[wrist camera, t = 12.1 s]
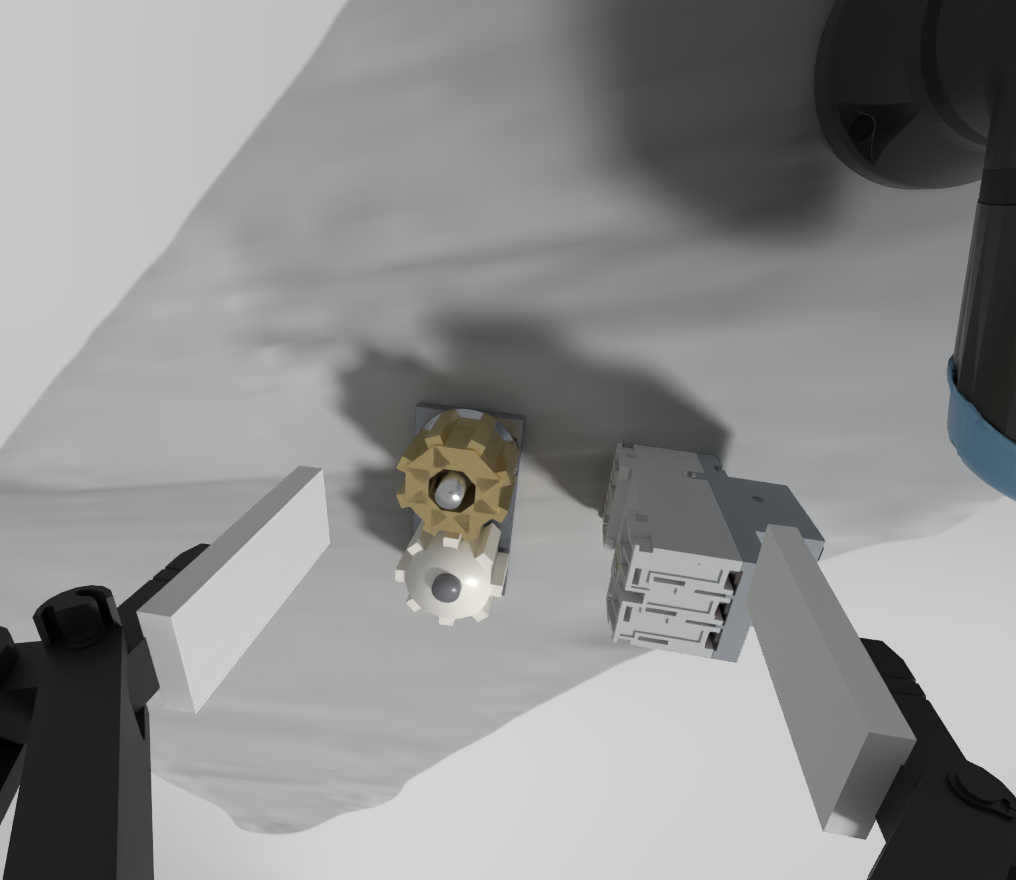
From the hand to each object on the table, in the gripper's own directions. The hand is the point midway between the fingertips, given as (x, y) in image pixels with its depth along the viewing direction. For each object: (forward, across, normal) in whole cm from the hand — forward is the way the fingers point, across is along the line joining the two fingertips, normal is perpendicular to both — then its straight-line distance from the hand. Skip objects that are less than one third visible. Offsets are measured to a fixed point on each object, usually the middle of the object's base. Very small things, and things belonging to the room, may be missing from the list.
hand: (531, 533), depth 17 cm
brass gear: (+28, -8, -12) cm, 31 cm away
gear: (+28, -9, -21) cm, 36 cm away
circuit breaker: (+30, +11, -14) cm, 35 cm away
